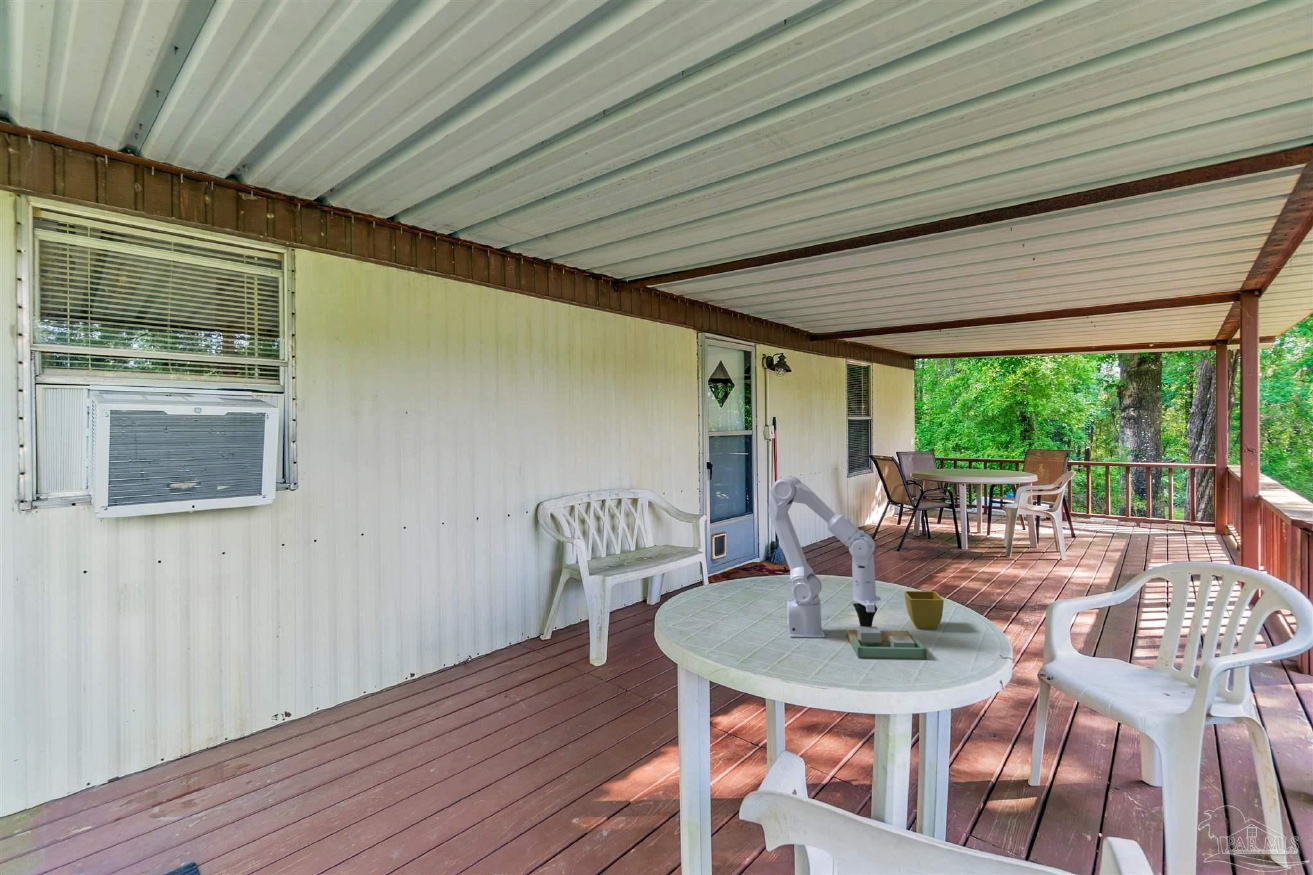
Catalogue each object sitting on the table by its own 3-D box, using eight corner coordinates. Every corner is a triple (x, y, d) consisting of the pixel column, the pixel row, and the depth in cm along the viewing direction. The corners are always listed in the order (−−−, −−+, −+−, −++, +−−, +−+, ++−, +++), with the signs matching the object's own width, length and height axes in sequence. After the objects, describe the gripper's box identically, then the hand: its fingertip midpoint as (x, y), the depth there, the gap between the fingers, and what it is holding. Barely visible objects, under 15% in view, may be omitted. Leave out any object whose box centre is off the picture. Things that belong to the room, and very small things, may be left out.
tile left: (861, 642, 148) (860, 632, 149) (857, 635, 153) (856, 626, 153) (881, 642, 148) (881, 632, 148) (876, 636, 153) (876, 626, 153)
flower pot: (945, 632, 159) (944, 599, 159) (911, 631, 160) (910, 598, 160) (936, 622, 167) (935, 591, 167) (904, 621, 169) (903, 590, 169)
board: (852, 646, 150) (851, 640, 150) (846, 635, 158) (846, 630, 158) (916, 647, 148) (916, 640, 148) (907, 636, 156) (907, 630, 156)
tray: (858, 658, 142) (858, 648, 142) (852, 646, 150) (851, 636, 150) (927, 659, 140) (926, 649, 140) (916, 647, 148) (916, 637, 148)
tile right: (894, 652, 144) (893, 642, 144) (889, 645, 149) (888, 635, 149) (915, 652, 143) (914, 642, 143) (909, 645, 148) (909, 635, 148)
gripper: (886, 587, 147) (888, 640, 146) (873, 574, 161) (875, 623, 161) (857, 587, 148) (859, 640, 147) (847, 574, 162) (849, 622, 162)
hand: (866, 631), depth 154 cm, fingers closed
